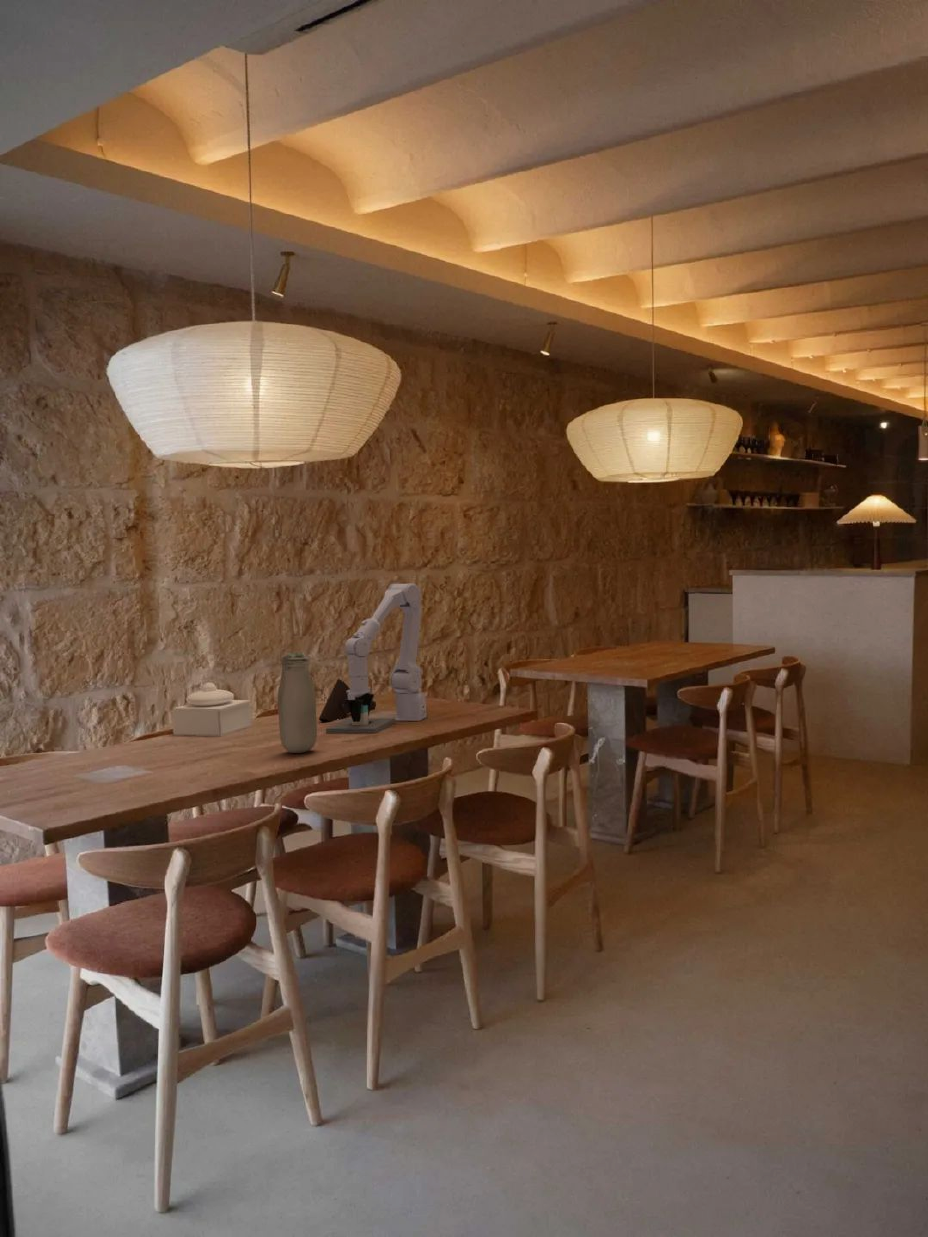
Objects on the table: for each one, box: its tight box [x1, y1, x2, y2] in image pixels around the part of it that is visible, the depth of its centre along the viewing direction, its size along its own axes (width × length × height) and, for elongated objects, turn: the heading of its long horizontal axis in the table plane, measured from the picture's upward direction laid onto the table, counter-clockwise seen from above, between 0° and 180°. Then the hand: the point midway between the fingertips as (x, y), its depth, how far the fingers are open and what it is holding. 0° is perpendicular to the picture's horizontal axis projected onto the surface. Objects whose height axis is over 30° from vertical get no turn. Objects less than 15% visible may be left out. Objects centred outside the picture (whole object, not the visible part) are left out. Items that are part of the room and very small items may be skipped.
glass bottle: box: [277, 651, 318, 754], centre depth 275 cm, size 10×10×28 cm
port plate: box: [325, 717, 396, 735], centre depth 310 cm, size 16×18×2 cm
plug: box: [352, 705, 369, 725], centre depth 310 cm, size 4×4×7 cm
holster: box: [318, 678, 377, 722], centre depth 336 cm, size 5×16×25 cm
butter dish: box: [171, 682, 252, 737], centre depth 318 cm, size 18×18×16 cm
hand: (360, 719), depth 310 cm, fingers open, 7 cm apart
